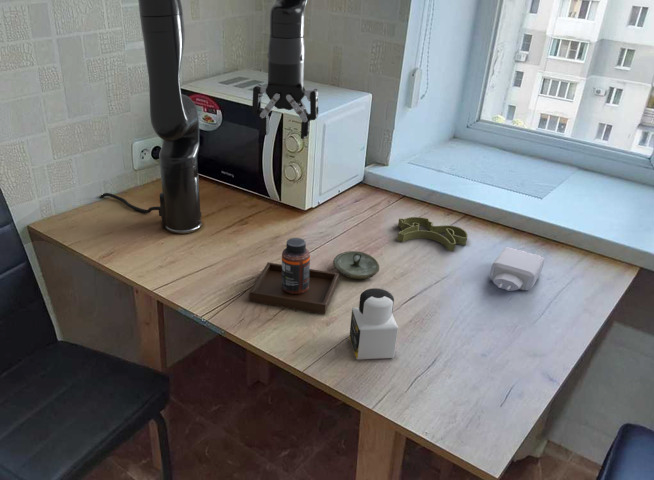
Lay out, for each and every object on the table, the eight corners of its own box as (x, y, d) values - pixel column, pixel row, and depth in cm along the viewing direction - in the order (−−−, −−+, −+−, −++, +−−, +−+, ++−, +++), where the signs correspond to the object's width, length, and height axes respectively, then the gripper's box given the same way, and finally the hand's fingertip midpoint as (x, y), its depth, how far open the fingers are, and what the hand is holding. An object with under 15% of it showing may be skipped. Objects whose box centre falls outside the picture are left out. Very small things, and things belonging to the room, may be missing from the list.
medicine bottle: (348, 337, 118) (353, 284, 112) (385, 335, 119) (392, 283, 113) (356, 360, 112) (362, 306, 106) (394, 358, 113) (402, 304, 107)
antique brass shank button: (350, 261, 147) (346, 242, 145) (387, 263, 141) (384, 244, 139) (327, 281, 140) (323, 261, 138) (366, 285, 134) (362, 264, 132)
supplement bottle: (309, 281, 134) (311, 235, 128) (308, 296, 129) (310, 249, 123) (282, 280, 135) (283, 234, 129) (280, 294, 130) (280, 247, 124)
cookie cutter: (389, 239, 154) (390, 232, 153) (400, 220, 163) (401, 213, 162) (462, 253, 148) (464, 246, 147) (469, 233, 157) (471, 226, 156)
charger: (479, 291, 133) (499, 263, 144) (522, 304, 129) (540, 275, 139) (483, 272, 131) (504, 245, 141) (527, 285, 126) (545, 257, 137)
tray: (249, 301, 129) (249, 292, 128) (267, 270, 140) (267, 262, 139) (324, 314, 125) (325, 305, 124) (338, 282, 136) (338, 273, 135)
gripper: (324, 57, 127) (320, 134, 136) (258, 53, 131) (259, 128, 139) (315, 65, 121) (312, 144, 130) (247, 60, 124) (248, 138, 133)
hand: (284, 136), depth 134 cm, fingers open, 8 cm apart
